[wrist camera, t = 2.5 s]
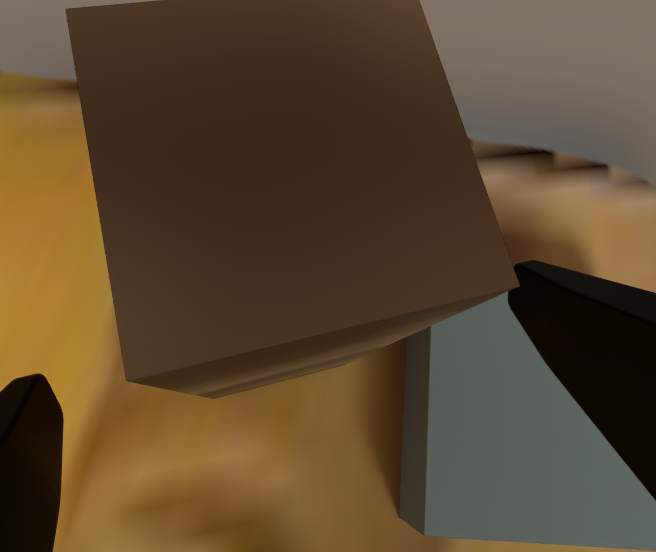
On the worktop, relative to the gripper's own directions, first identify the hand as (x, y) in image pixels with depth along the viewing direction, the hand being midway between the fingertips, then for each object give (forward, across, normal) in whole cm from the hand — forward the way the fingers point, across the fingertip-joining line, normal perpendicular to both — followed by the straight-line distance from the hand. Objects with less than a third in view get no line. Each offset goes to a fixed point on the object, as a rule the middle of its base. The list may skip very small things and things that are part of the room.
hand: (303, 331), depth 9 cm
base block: (+4, -9, +10) cm, 14 cm away
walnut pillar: (+8, 0, +6) cm, 10 cm away
